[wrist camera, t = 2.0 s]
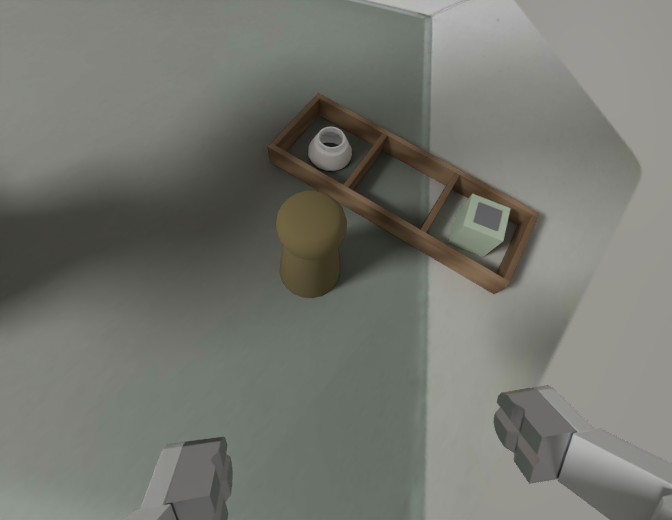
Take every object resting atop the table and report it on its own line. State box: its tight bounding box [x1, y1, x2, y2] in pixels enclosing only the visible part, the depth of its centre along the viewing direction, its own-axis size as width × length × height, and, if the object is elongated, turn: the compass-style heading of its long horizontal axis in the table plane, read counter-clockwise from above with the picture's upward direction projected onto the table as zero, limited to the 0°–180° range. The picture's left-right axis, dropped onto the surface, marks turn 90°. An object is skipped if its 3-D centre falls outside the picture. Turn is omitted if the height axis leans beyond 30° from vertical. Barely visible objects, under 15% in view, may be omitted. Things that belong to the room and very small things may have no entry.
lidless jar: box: [308, 127, 352, 171], centre depth 37 cm, size 5×3×5 cm
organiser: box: [268, 93, 539, 294], centre depth 36 cm, size 28×10×2 cm, turn 57°
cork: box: [276, 190, 347, 298], centre depth 28 cm, size 6×6×11 cm
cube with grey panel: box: [447, 194, 511, 257], centre depth 34 cm, size 4×4×4 cm
